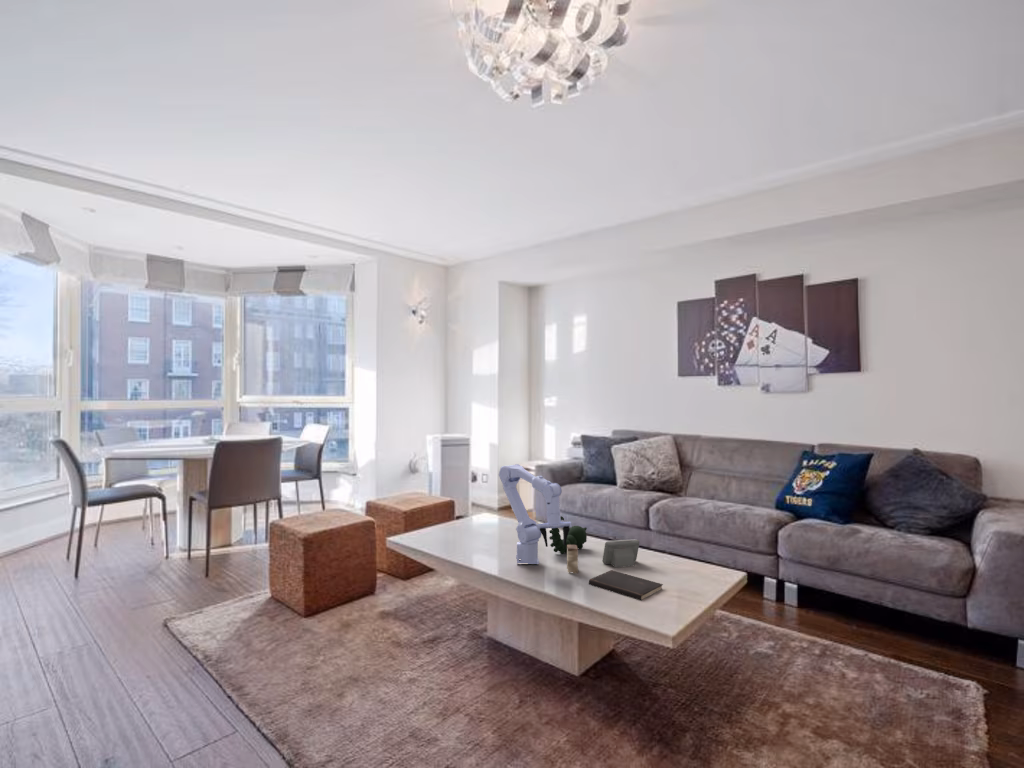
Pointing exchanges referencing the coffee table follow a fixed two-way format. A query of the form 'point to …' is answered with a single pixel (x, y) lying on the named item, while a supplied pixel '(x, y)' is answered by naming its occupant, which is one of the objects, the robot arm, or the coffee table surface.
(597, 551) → the coffee table surface
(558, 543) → the toy figurine
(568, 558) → the beech block
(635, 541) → the digital clock
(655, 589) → the hardcover book
